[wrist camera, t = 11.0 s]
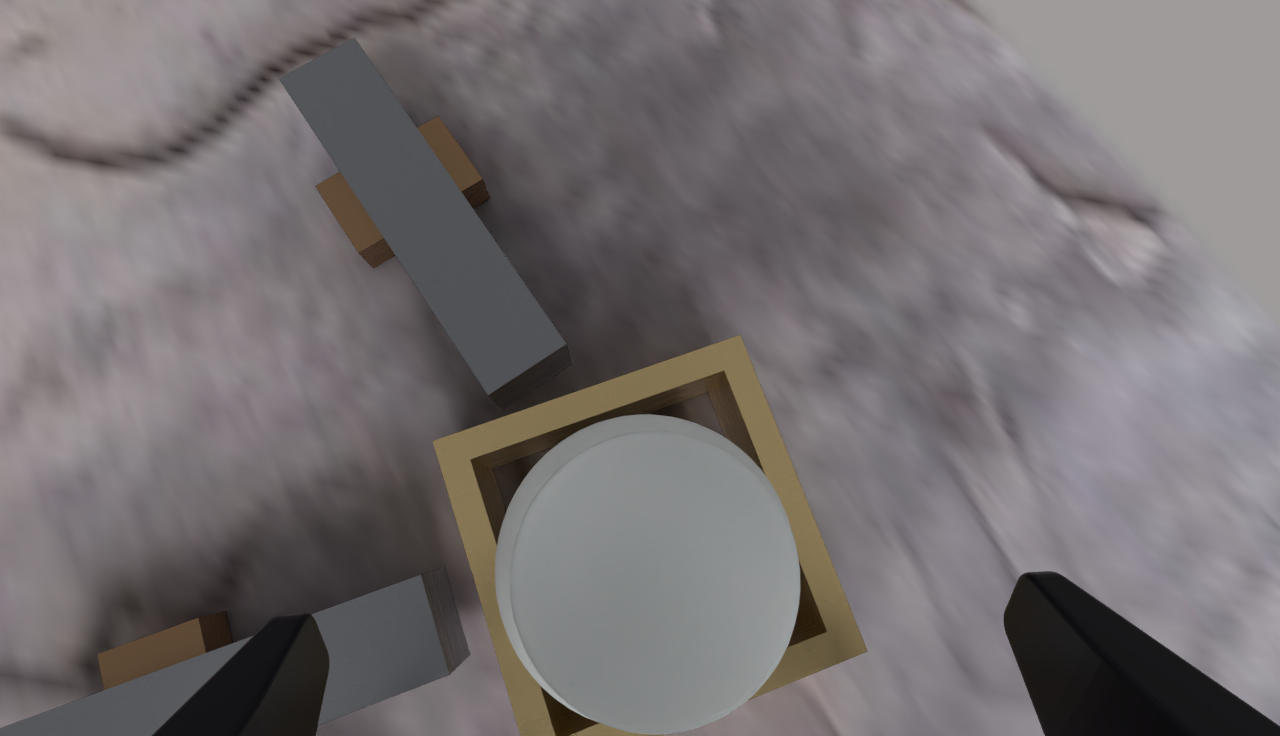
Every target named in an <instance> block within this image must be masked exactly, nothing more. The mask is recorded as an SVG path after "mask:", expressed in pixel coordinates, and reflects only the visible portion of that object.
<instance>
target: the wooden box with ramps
mask: <svg viewBox="0 0 1280 736" xmlns="http://www.w3.org/2000/svg"><path fill="white" fill-rule="evenodd" d="M279 80H280V81H281V83H282V84H283V86H284V87H285V89H286V90H287V92H288V93H289V95H290V96H291V98H292V99H293V101H294V102H295V104H296V105H297V107H298V109H299V110H300V112H301V113H302V115H303V116H304V118H305V119H306V121H307V122H308V124H309V125H310V127H311V128H312V130H313V131H314V133H315V134H316V136H317V137H318V139H319V140H320V142H321V143H322V145H323V146H324V148H325V149H326V151H327V152H328V154H329V155H330V157H331V158H332V160H333V161H334V163H335V165H336V166H337V168H338V169H339V171H340V172H339V173H337V174H336V175H334V176H332V177H330V178H329V179H327V180H325V181H323V182H322V183H320V184H318V185H316V186H315V187H316V188H317V190H318V191H319V193H320V194H321V196H322V198H323V199H324V201H325V202H326V204H327V205H328V207H329V208H330V210H331V211H332V213H333V214H334V216H335V218H336V219H337V221H338V222H339V224H340V225H341V227H342V228H343V230H344V231H345V233H346V234H347V236H348V237H349V239H350V241H351V242H352V244H353V245H354V247H355V248H356V250H357V251H358V253H359V254H360V255H361V256H362V257H363V258H364V259H365V260H366V261H367V262H368V263H369V264H370V265H371V266H372V267H373V268H375V267H377V266H378V265H380V264H382V263H383V262H385V261H387V260H388V259H390V258H392V257H393V256H395V255H396V257H397V258H398V260H399V261H400V263H401V264H402V266H403V267H404V269H405V270H406V272H407V273H408V275H409V277H410V278H411V280H412V281H413V283H414V284H415V286H416V287H417V289H418V290H419V292H420V293H421V295H422V296H423V298H424V299H425V301H426V302H427V304H428V305H429V307H430V308H431V310H432V311H433V313H434V314H435V316H436V317H437V319H438V320H439V322H440V323H441V325H442V326H443V328H444V329H445V331H446V333H447V334H448V336H449V337H450V339H451V340H452V342H453V343H454V345H455V346H456V348H457V349H458V351H459V352H460V354H461V355H462V357H463V358H464V360H465V361H466V363H467V364H468V366H469V367H470V369H471V370H472V372H473V373H474V375H475V376H476V378H477V379H478V381H479V382H480V384H481V385H482V387H483V389H484V390H485V392H486V393H487V395H488V396H489V397H490V398H491V399H492V400H493V401H494V402H495V403H496V404H497V405H498V406H499V407H500V408H502V409H505V408H506V407H508V406H509V405H511V404H512V403H514V402H515V401H517V400H518V399H520V398H521V397H523V396H525V395H526V394H528V393H529V392H531V391H532V390H534V389H535V388H537V387H538V386H540V385H541V384H543V383H544V382H546V381H547V380H549V379H550V378H552V377H553V376H555V375H556V374H558V373H559V372H561V371H562V370H564V369H565V368H567V367H568V366H570V365H572V362H571V358H570V355H569V351H568V347H567V344H566V342H565V341H564V339H563V338H562V336H561V335H560V334H559V332H558V331H557V329H556V328H555V326H554V325H553V323H552V322H551V321H550V319H549V318H548V316H547V315H546V313H545V312H544V310H543V309H542V308H541V306H540V305H539V303H538V302H537V300H536V299H535V297H534V296H533V295H532V293H531V292H530V290H529V289H528V287H527V286H526V285H525V283H524V282H523V280H522V279H521V277H520V276H519V274H518V273H517V272H516V270H515V269H514V267H513V266H512V264H511V263H510V261H509V260H508V259H507V257H506V256H505V254H504V253H503V251H502V250H501V248H500V247H499V246H498V244H497V243H496V241H495V240H494V238H493V237H492V235H491V234H490V233H489V231H488V230H487V228H486V227H485V225H484V224H483V222H482V221H481V220H480V218H479V217H478V215H477V214H476V212H475V211H474V209H473V208H475V207H476V206H478V205H480V204H481V203H483V202H485V201H486V200H488V199H490V196H489V194H488V191H487V189H486V186H485V183H484V181H483V179H482V177H481V176H480V174H479V173H478V171H477V170H476V169H475V167H474V166H473V164H472V163H471V161H470V160H469V159H468V157H467V156H466V154H465V153H464V151H463V150H462V149H461V147H460V146H459V144H458V143H457V141H456V140H455V139H454V137H453V136H452V134H451V133H450V131H449V130H448V129H447V127H446V126H445V124H444V123H443V122H442V120H441V119H440V117H439V116H437V117H435V118H433V119H432V120H430V121H428V122H426V123H425V124H423V125H421V126H419V127H418V128H417V127H416V126H415V124H414V123H413V121H412V120H411V118H410V117H409V116H408V114H407V113H406V111H405V110H404V108H403V107H402V105H401V104H400V103H399V101H398V100H397V98H396V97H395V95H394V94H393V92H392V91H391V90H390V88H389V87H388V85H387V84H386V82H385V81H384V80H383V78H382V77H381V75H380V74H379V72H378V71H377V69H376V68H375V67H374V65H373V64H372V62H371V61H370V59H369V58H368V56H367V55H366V54H365V52H364V51H363V49H362V48H361V46H360V45H359V43H358V42H357V41H356V39H355V38H353V39H351V40H350V41H348V42H346V43H344V44H342V45H340V46H338V47H337V48H335V49H333V50H331V51H329V52H327V53H326V54H324V55H322V56H320V57H318V58H316V59H314V60H313V61H311V62H309V63H307V64H305V65H303V66H301V67H300V68H298V69H296V70H294V71H292V72H290V73H289V74H287V75H285V76H283V77H281V78H279ZM705 393H708V395H709V397H710V400H711V402H712V405H713V408H714V410H715V413H716V415H717V418H718V421H719V423H720V426H721V428H722V431H723V433H724V436H725V438H726V439H728V440H729V441H731V442H732V443H733V444H735V445H736V446H737V447H739V448H740V449H741V450H742V451H743V452H744V453H746V454H747V455H748V456H749V457H750V458H751V459H752V460H753V461H754V462H755V463H756V465H757V466H758V467H759V468H760V469H761V470H762V471H763V473H764V474H765V475H766V477H767V478H768V480H769V481H770V483H771V484H772V486H773V488H774V489H775V491H776V493H777V495H778V496H779V498H780V500H781V502H782V505H783V507H784V509H785V512H786V514H787V517H788V520H789V523H790V526H791V530H792V533H793V535H794V539H795V543H796V547H797V552H798V559H799V567H800V599H799V608H798V613H797V617H796V622H795V626H794V629H793V632H792V635H791V638H790V641H789V644H788V647H787V649H786V650H785V652H784V654H783V656H782V658H781V660H780V662H779V664H778V665H777V667H776V668H775V670H774V671H773V673H772V674H771V676H770V677H769V678H768V679H767V680H766V682H765V683H764V684H763V685H762V686H761V687H760V688H759V690H758V691H757V692H756V693H755V694H754V695H753V696H752V697H751V698H750V699H752V698H755V697H757V696H760V695H762V694H764V693H767V692H769V691H772V690H774V689H777V688H779V687H782V686H784V685H786V684H789V683H791V682H794V681H796V680H799V679H801V678H804V677H806V676H809V675H811V674H813V673H816V672H818V671H821V670H823V669H826V668H828V667H831V666H833V665H835V664H838V663H840V662H843V661H845V660H848V659H850V658H853V657H855V656H858V655H860V654H862V653H865V652H867V648H866V646H865V643H864V641H863V638H862V636H861V634H860V631H859V629H858V626H857V624H856V621H855V619H854V616H853V614H852V611H851V609H850V606H849V604H848V601H847V599H846V596H845V594H844V591H843V589H842V586H841V584H840V581H839V579H838V576H837V574H836V571H835V569H834V566H833V564H832V562H831V559H830V557H829V554H828V552H827V549H826V547H825V544H824V542H823V539H822V537H821V534H820V532H819V529H818V527H817V524H816V522H815V519H814V517H813V514H812V512H811V509H810V507H809V504H808V502H807V499H806V497H805V494H804V492H803V490H802V487H801V485H800V482H799V480H798V477H797V475H796V472H795V470H794V467H793V465H792V462H791V460H790V457H789V455H788V452H787V450H786V447H785V445H784V442H783V440H782V437H781V435H780V432H779V430H778V427H777V425H776V422H775V420H774V417H773V415H772V413H771V410H770V408H769V405H768V403H767V400H766V398H765V395H764V393H763V390H762V388H761V385H760V383H759V380H758V378H757V375H756V373H755V370H754V368H753V365H752V363H751V360H750V358H749V355H748V353H747V350H746V348H745V345H744V343H743V341H742V338H741V336H740V335H739V336H736V337H733V338H730V339H727V340H724V341H721V342H718V343H715V344H713V345H710V346H707V347H704V348H701V349H698V350H695V351H692V352H689V353H686V354H684V355H681V356H678V357H675V358H672V359H669V360H666V361H663V362H660V363H657V364H655V365H652V366H649V367H646V368H643V369H640V370H637V371H634V372H631V373H628V374H626V375H623V376H620V377H617V378H614V379H611V380H608V381H605V382H602V383H600V384H597V385H594V386H591V387H588V388H585V389H582V390H579V391H576V392H573V393H571V394H568V395H565V396H562V397H559V398H556V399H553V400H550V401H547V402H544V403H542V404H539V405H536V406H533V407H530V408H527V409H524V410H521V411H518V412H516V413H513V414H510V415H507V416H504V417H501V418H498V419H495V420H492V421H489V422H487V423H484V424H481V425H478V426H475V427H472V428H469V429H466V430H463V431H460V432H458V433H455V434H452V435H449V436H446V437H443V438H440V439H437V440H434V441H433V445H434V448H435V451H436V455H437V458H438V461H439V465H440V468H441V471H442V475H443V478H444V481H445V485H446V488H447V491H448V495H449V498H450V501H451V505H452V508H453V511H454V515H455V518H456V521H457V525H458V528H459V531H460V535H461V538H462V541H463V545H464V548H465V551H466V555H467V558H468V561H469V565H470V568H471V571H472V575H473V578H474V581H475V585H476V588H477V592H478V595H479V598H480V602H481V605H482V608H483V612H484V615H485V618H486V622H487V625H488V628H489V632H490V635H491V638H492V642H493V645H494V648H495V652H496V655H497V658H498V662H499V665H500V668H501V672H502V675H503V678H504V682H505V685H506V688H507V692H508V695H509V698H510V702H511V705H512V708H513V712H514V715H515V718H516V722H517V725H518V728H519V732H520V735H521V736H661V735H664V734H661V735H650V734H638V733H631V732H626V731H623V730H619V729H616V728H612V727H609V726H606V725H603V724H601V723H599V722H596V721H593V720H591V719H588V718H585V717H584V716H582V715H580V714H578V713H576V712H574V711H572V710H570V709H569V708H567V707H566V706H565V705H563V704H562V703H560V702H559V701H557V700H556V699H555V698H553V697H552V696H551V695H550V694H549V693H548V692H547V691H546V690H544V689H543V688H542V687H541V686H540V685H539V684H538V683H537V681H536V680H535V679H534V678H533V677H532V676H531V674H530V673H529V672H528V671H527V669H526V668H525V667H524V665H523V664H522V662H521V661H520V659H519V658H518V656H517V654H516V652H515V650H514V649H513V646H512V644H511V642H510V640H509V638H508V636H507V633H506V630H505V628H504V625H503V622H502V619H501V616H500V611H499V607H498V602H497V597H496V587H495V556H496V549H497V543H498V538H499V533H500V530H501V526H502V523H503V520H504V517H505V514H506V510H505V507H504V504H503V501H502V497H501V494H500V491H499V488H498V485H497V482H496V478H495V475H494V472H493V469H492V468H495V467H498V466H501V465H504V464H506V463H509V462H512V461H515V460H518V459H521V458H523V457H526V456H529V455H532V454H535V453H538V452H540V451H543V450H546V449H549V448H552V447H555V446H556V445H557V444H559V443H560V442H561V441H563V440H564V439H566V438H568V437H569V436H571V435H572V434H574V433H576V432H578V431H579V430H581V429H584V428H586V427H588V426H591V425H593V424H595V423H598V422H601V421H605V420H608V419H612V418H617V417H621V416H629V415H639V414H648V413H651V412H654V411H657V410H659V409H662V408H665V407H668V406H671V405H674V404H676V403H679V402H682V401H685V400H688V399H691V398H693V397H696V396H699V395H702V394H705ZM311 615H312V616H313V617H314V618H315V620H316V623H317V625H318V628H319V630H320V633H321V635H322V638H323V640H324V643H325V645H326V648H327V650H328V653H329V662H330V665H329V674H328V679H327V683H326V688H325V693H324V698H323V703H322V708H321V712H320V717H319V722H318V725H320V724H323V723H325V722H328V721H330V720H333V719H336V718H338V717H341V716H343V715H346V714H349V713H351V712H354V711H356V710H359V709H362V708H364V707H367V706H369V705H372V704H375V703H377V702H380V701H382V700H385V699H388V698H390V697H393V696H395V695H398V694H401V693H403V692H406V691H408V690H411V689H414V688H416V687H419V686H421V685H424V684H427V683H429V682H432V681H434V680H437V679H440V678H442V677H445V676H447V675H450V674H451V673H452V672H453V671H454V670H455V669H456V668H457V667H458V666H459V665H460V664H461V663H462V662H463V661H464V660H465V659H466V658H467V657H468V656H470V652H469V649H468V645H467V642H466V638H465V635H464V632H463V628H462V625H461V621H460V618H459V615H458V611H457V608H456V604H455V601H454V597H453V594H452V591H451V587H450V584H449V580H448V577H447V573H446V570H445V567H444V568H441V569H438V570H434V571H431V572H427V573H424V574H420V575H418V576H415V577H412V578H410V579H407V580H404V581H401V582H399V583H396V584H393V585H390V586H388V587H385V588H382V589H379V590H377V591H374V592H371V593H369V594H366V595H363V596H360V597H358V598H355V599H352V600H349V601H347V602H344V603H341V604H339V605H336V606H333V607H330V608H328V609H325V610H322V611H319V612H317V613H314V614H311ZM252 637H253V636H251V637H248V638H246V639H243V640H240V641H237V642H235V643H233V642H232V637H231V633H230V628H229V624H228V620H227V615H226V611H224V612H220V613H216V614H212V615H208V616H203V617H199V618H196V619H193V620H191V621H188V622H185V623H182V624H179V625H177V626H174V627H171V628H168V629H166V630H163V631H160V632H157V633H154V634H152V635H149V636H146V637H143V638H141V639H138V640H135V641H132V642H129V643H127V644H124V645H121V646H118V647H116V648H113V649H110V650H107V651H104V652H102V653H99V654H97V655H98V660H99V666H100V671H101V676H102V682H103V687H104V691H101V692H98V693H95V694H93V695H90V696H87V697H85V698H82V699H79V700H76V701H74V702H71V703H68V704H65V705H63V706H60V707H57V708H54V709H52V710H49V711H46V712H44V713H41V714H38V715H35V716H33V717H30V718H27V719H24V720H22V721H19V722H16V723H13V724H11V725H8V726H5V727H3V728H0V736H151V735H152V734H154V733H155V732H156V731H157V730H158V729H159V728H160V727H161V726H162V725H163V724H164V723H165V722H166V721H167V720H168V719H169V718H170V717H171V716H172V715H173V714H174V713H175V712H176V711H177V710H178V709H179V708H180V707H181V706H182V705H183V704H184V703H185V702H186V701H187V700H188V699H189V698H190V697H191V696H192V695H193V694H194V693H195V692H196V691H197V690H198V689H199V688H200V687H202V686H203V685H204V684H205V683H206V682H207V681H208V680H209V679H210V678H211V677H212V676H213V675H214V674H215V673H216V672H217V671H218V670H219V669H220V668H221V667H222V666H223V665H224V664H225V663H226V662H227V661H228V660H229V659H230V658H231V657H232V656H233V655H234V654H235V653H236V652H237V651H238V650H239V649H240V648H241V647H242V646H243V645H244V644H245V643H246V642H247V641H248V640H250V639H251V638H252ZM750 699H748V700H750Z"/></svg>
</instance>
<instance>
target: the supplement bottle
mask: <svg viewBox="0 0 1280 736" xmlns="http://www.w3.org/2000/svg"><path fill="white" fill-rule="evenodd" d="M495 587H496V597H497V602H498V607H499V611H500V616H501V619H502V622H503V625H504V628H505V630H506V633H507V636H508V638H509V640H510V642H511V644H512V646H513V649H514V650H515V652H516V654H517V656H518V658H519V659H520V661H521V662H522V664H523V665H524V667H525V668H526V669H527V671H528V672H529V673H530V674H531V676H532V677H533V678H534V679H535V680H536V681H537V683H538V684H539V685H540V686H541V687H542V688H543V689H544V690H546V691H547V692H548V693H549V694H550V695H551V696H552V697H553V698H555V699H556V700H557V701H559V702H560V703H562V704H563V705H565V706H566V707H567V708H569V709H570V710H572V711H574V712H576V713H578V714H580V715H582V716H584V717H585V718H588V719H591V720H593V721H596V722H599V723H601V724H603V725H606V726H609V727H612V728H616V729H619V730H623V731H626V732H631V733H638V734H650V735H661V734H670V733H680V732H685V731H689V730H693V729H696V728H699V727H702V726H704V725H707V724H709V723H712V722H714V721H717V720H719V719H720V718H722V717H724V716H726V715H728V714H729V713H731V712H732V711H734V710H735V709H737V708H739V707H740V706H741V705H742V704H744V703H745V702H746V701H747V700H748V699H750V698H751V697H752V696H753V695H754V694H755V693H756V692H757V691H758V690H759V688H760V687H761V686H762V685H763V684H764V683H765V682H766V680H767V679H768V678H769V677H770V676H771V674H772V673H773V671H774V670H775V668H776V667H777V665H778V664H779V662H780V660H781V658H782V656H783V654H784V652H785V650H786V649H787V647H788V644H789V641H790V638H791V635H792V632H793V629H794V626H795V622H796V617H797V613H798V608H799V599H800V567H799V559H798V552H797V547H796V543H795V539H794V535H793V533H792V530H791V526H790V523H789V520H788V517H787V514H786V512H785V509H784V507H783V505H782V502H781V500H780V498H779V496H778V495H777V493H776V491H775V489H774V488H773V486H772V484H771V483H770V481H769V480H768V478H767V477H766V475H765V474H764V473H763V471H762V470H761V469H760V468H759V467H758V466H757V465H756V463H755V462H754V461H753V460H752V459H751V458H750V457H749V456H748V455H747V454H746V453H744V452H743V451H742V450H741V449H740V448H739V447H737V446H736V445H735V444H733V443H732V442H731V441H729V440H728V439H726V438H725V437H723V436H722V435H720V434H718V433H716V432H715V431H713V430H710V429H708V428H706V427H704V426H701V425H699V424H697V423H694V422H691V421H687V420H684V419H680V418H675V417H670V416H662V415H651V414H639V415H629V416H621V417H617V418H612V419H608V420H605V421H601V422H598V423H595V424H593V425H591V426H588V427H586V428H584V429H581V430H579V431H578V432H576V433H574V434H572V435H571V436H569V437H568V438H566V439H564V440H563V441H561V442H560V443H559V444H557V445H556V446H555V447H554V448H552V449H551V450H550V451H549V452H547V453H546V454H545V455H544V456H543V457H542V458H541V459H540V460H539V461H538V462H537V463H536V464H535V465H534V467H533V468H532V469H531V470H530V472H529V473H528V474H527V475H526V477H525V478H524V480H523V481H522V483H521V484H520V486H519V487H518V489H517V491H516V492H515V494H514V496H513V498H512V500H511V502H510V504H509V506H508V509H507V511H506V514H505V517H504V520H503V523H502V526H501V530H500V533H499V538H498V543H497V549H496V556H495Z"/></svg>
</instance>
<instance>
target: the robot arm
mask: <svg viewBox="0 0 1280 736" xmlns="http://www.w3.org/2000/svg"><path fill="white" fill-rule="evenodd" d="M1004 627H1005V631H1006V635H1007V637H1008V640H1009V642H1010V645H1011V648H1012V650H1013V653H1014V656H1015V658H1016V661H1017V664H1018V666H1019V669H1020V671H1021V674H1022V677H1023V679H1024V682H1025V685H1026V687H1027V690H1028V693H1029V695H1030V698H1031V701H1032V703H1033V706H1034V708H1035V711H1036V714H1037V716H1038V719H1039V722H1040V724H1041V727H1042V730H1043V732H1044V734H1045V736H1280V726H1279V725H1277V724H1276V723H1274V722H1273V721H1272V720H1270V719H1269V718H1267V717H1266V716H1264V715H1263V714H1261V713H1260V712H1259V711H1257V710H1256V709H1254V708H1253V707H1251V706H1250V705H1248V704H1247V703H1246V702H1244V701H1243V700H1241V699H1240V698H1238V697H1237V696H1236V695H1234V694H1233V693H1231V692H1230V691H1228V690H1227V689H1225V688H1224V687H1223V686H1221V685H1220V684H1218V683H1217V682H1215V681H1214V680H1212V679H1211V678H1210V677H1208V676H1207V675H1205V674H1204V673H1202V672H1201V671H1199V670H1198V669H1197V668H1195V667H1194V666H1192V665H1191V664H1189V663H1188V662H1186V661H1185V660H1184V659H1182V658H1181V657H1179V656H1178V655H1176V654H1175V653H1174V652H1172V651H1171V650H1169V649H1168V648H1166V647H1165V646H1163V645H1162V644H1161V643H1159V642H1158V641H1156V640H1155V639H1153V638H1152V637H1150V636H1149V635H1148V634H1146V633H1145V632H1143V631H1142V630H1140V629H1139V628H1137V627H1136V626H1135V625H1133V624H1132V623H1130V622H1129V621H1127V620H1126V619H1125V618H1123V617H1122V616H1120V615H1119V614H1117V613H1116V612H1114V611H1113V610H1112V609H1110V608H1109V607H1107V606H1106V605H1104V604H1103V603H1101V602H1100V601H1099V600H1097V599H1096V598H1094V597H1093V596H1091V595H1090V594H1088V593H1087V592H1086V591H1084V590H1083V589H1081V588H1080V587H1078V586H1077V585H1075V584H1074V583H1073V582H1071V581H1070V580H1068V579H1067V578H1065V577H1064V576H1062V575H1060V574H1058V573H1056V572H1050V571H1046V572H1028V573H1024V574H1023V575H1021V576H1020V577H1019V579H1018V581H1017V583H1016V586H1015V588H1014V590H1013V593H1012V595H1011V597H1010V600H1009V602H1008V605H1007V607H1006V609H1005V612H1004ZM329 665H330V662H329V653H328V650H327V648H326V645H325V643H324V640H323V638H322V635H321V633H320V630H319V628H318V625H317V623H316V620H315V618H314V617H313V616H312V615H311V614H309V613H289V614H280V615H277V616H275V617H273V618H272V619H270V620H269V621H268V622H267V623H266V624H265V625H264V626H263V627H262V628H261V629H260V630H259V631H258V632H257V633H256V634H255V635H254V636H253V637H252V638H251V639H250V640H248V641H247V642H246V643H245V644H244V645H243V646H242V647H241V648H240V649H239V650H238V651H237V652H236V653H235V654H234V655H233V656H232V657H231V658H230V659H229V660H228V661H227V662H226V663H225V664H224V665H223V666H222V667H221V668H220V669H219V670H218V671H217V672H216V673H215V674H214V675H213V676H212V677H211V678H210V679H209V680H208V681H207V682H206V683H205V684H204V685H203V686H202V687H200V688H199V689H198V690H197V691H196V692H195V693H194V694H193V695H192V696H191V697H190V698H189V699H188V700H187V701H186V702H185V703H184V704H183V705H182V706H181V707H180V708H179V709H178V710H177V711H176V712H175V713H174V714H173V715H172V716H171V717H170V718H169V719H168V720H167V721H166V722H165V723H164V724H163V725H162V726H161V727H160V728H159V729H158V730H157V731H156V732H155V733H154V734H152V735H151V736H316V732H317V727H318V722H319V717H320V712H321V708H322V703H323V698H324V693H325V688H326V683H327V679H328V674H329Z"/></svg>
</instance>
